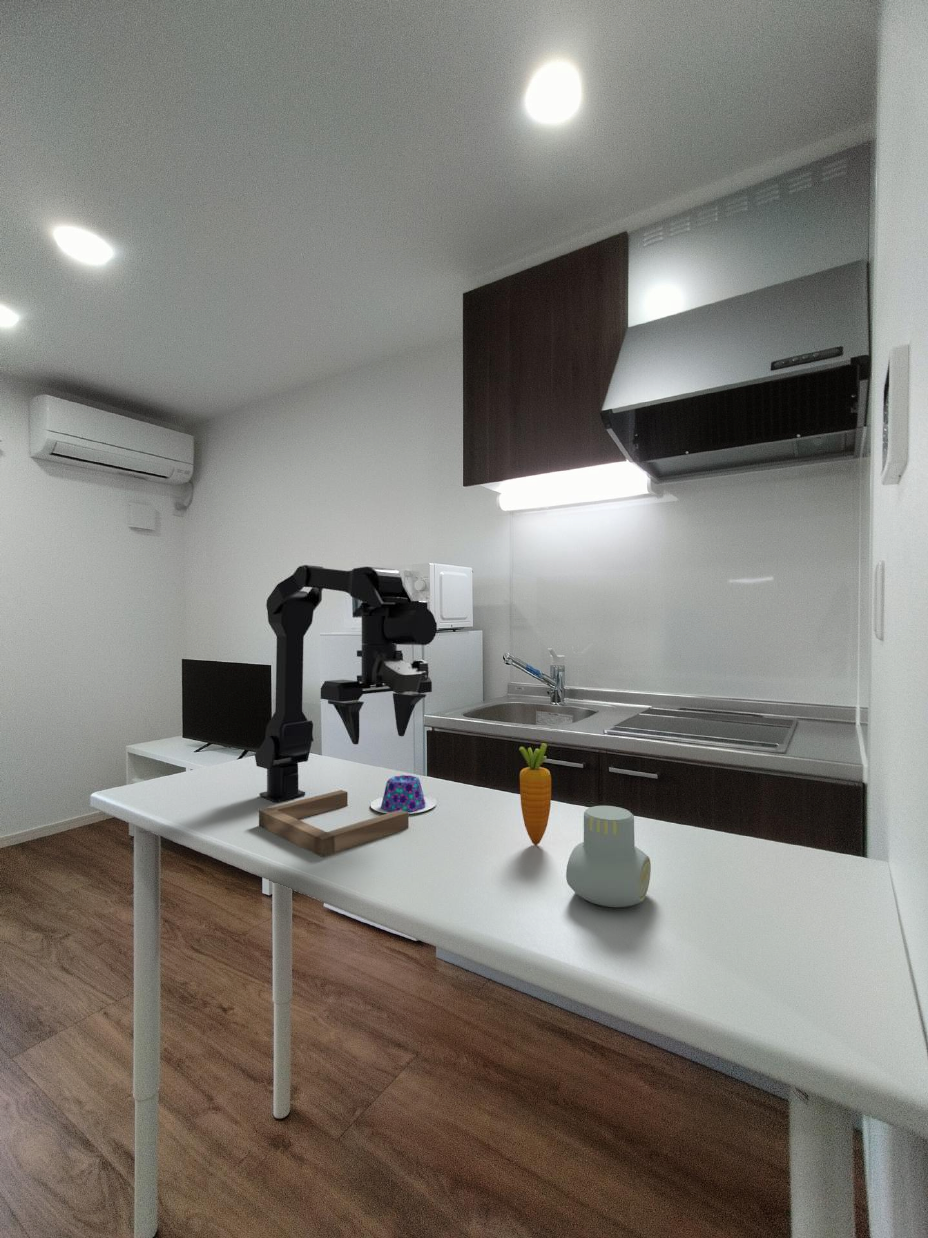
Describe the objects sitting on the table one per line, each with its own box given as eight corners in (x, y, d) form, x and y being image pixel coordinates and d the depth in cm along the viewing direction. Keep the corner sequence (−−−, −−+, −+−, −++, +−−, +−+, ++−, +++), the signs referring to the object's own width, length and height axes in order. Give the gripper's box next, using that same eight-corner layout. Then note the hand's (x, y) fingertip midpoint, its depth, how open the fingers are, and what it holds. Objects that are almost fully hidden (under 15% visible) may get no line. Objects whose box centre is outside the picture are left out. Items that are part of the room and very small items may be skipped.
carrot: (513, 848, 83) (513, 745, 83) (526, 837, 87) (525, 739, 87) (546, 854, 80) (545, 748, 81) (557, 842, 85) (556, 742, 85)
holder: (258, 825, 93) (258, 810, 93) (341, 803, 104) (341, 790, 104) (322, 857, 80) (322, 839, 80) (408, 827, 91) (408, 812, 91)
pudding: (361, 817, 98) (361, 786, 98) (381, 796, 110) (381, 769, 110) (429, 819, 96) (429, 789, 96) (441, 799, 108) (441, 771, 108)
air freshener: (634, 926, 61) (633, 832, 61) (560, 908, 65) (560, 820, 65) (653, 886, 70) (653, 805, 70) (588, 872, 74) (588, 796, 75)
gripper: (360, 646, 80) (360, 757, 80) (454, 644, 93) (454, 738, 93) (318, 645, 88) (318, 746, 88) (410, 642, 101) (410, 730, 101)
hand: (379, 740), depth 92 cm, fingers open, 9 cm apart
